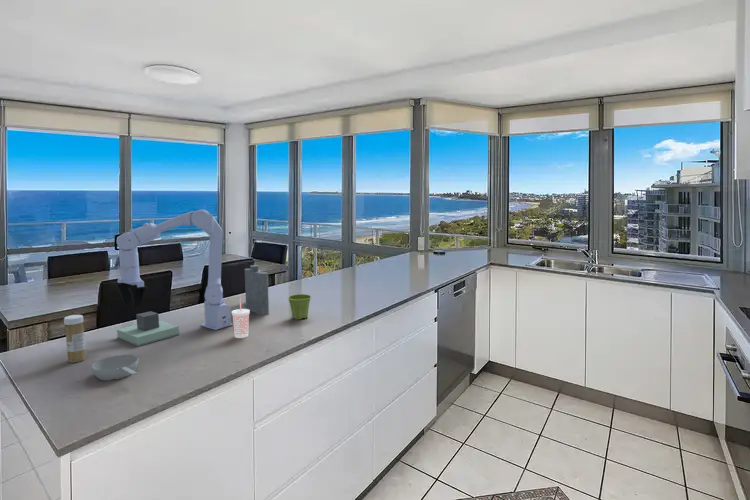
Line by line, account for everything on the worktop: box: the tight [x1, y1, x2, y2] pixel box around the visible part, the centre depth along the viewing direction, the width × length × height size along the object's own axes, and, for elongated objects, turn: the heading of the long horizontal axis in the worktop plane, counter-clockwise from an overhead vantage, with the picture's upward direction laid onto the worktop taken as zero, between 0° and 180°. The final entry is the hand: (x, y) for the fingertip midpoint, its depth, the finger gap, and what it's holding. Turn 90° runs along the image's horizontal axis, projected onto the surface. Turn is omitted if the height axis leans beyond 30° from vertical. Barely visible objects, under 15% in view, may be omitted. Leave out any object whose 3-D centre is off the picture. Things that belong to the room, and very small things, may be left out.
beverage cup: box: [231, 296, 251, 339], centre depth 143 cm, size 6×6×14 cm
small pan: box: [91, 354, 139, 381], centre depth 110 cm, size 11×18×4 cm, turn 52°
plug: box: [136, 310, 160, 331], centre depth 142 cm, size 5×5×7 cm
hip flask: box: [244, 264, 270, 316], centre depth 174 cm, size 16×4×20 cm, turn 46°
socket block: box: [116, 319, 180, 347], centre depth 142 cm, size 14×14×3 cm
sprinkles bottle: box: [63, 314, 87, 363], centre depth 120 cm, size 5×5×13 cm
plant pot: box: [287, 293, 312, 320], centre depth 166 cm, size 9×9×9 cm
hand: (132, 304), depth 145 cm, fingers open, 7 cm apart
